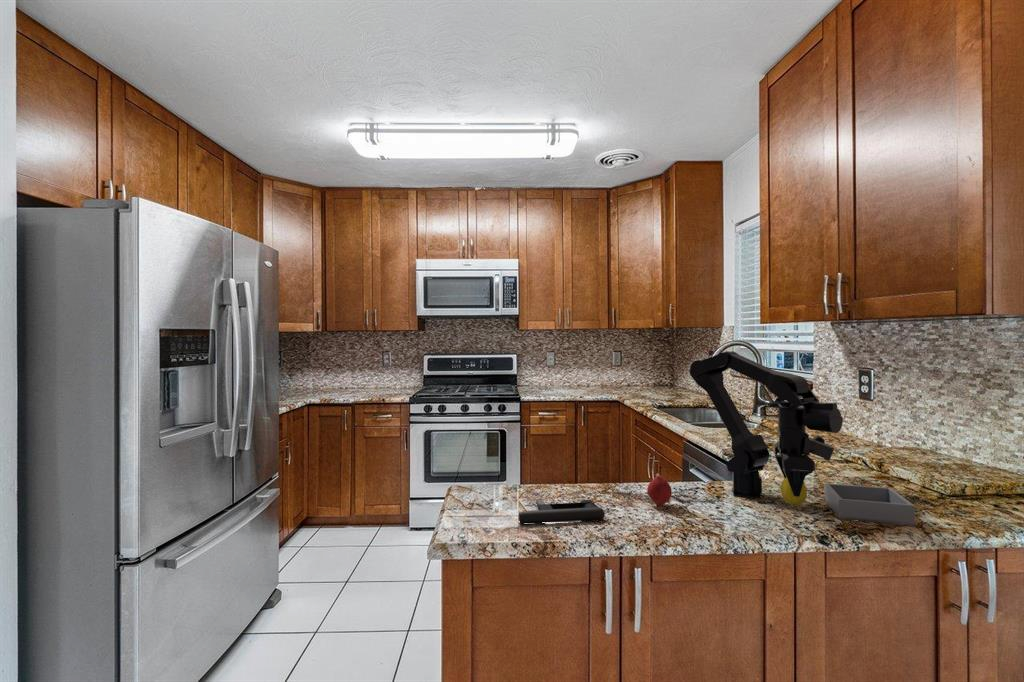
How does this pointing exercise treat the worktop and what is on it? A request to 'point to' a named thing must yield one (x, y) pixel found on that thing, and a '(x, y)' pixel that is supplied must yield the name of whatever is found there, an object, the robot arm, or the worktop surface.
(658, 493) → the onion
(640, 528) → the worktop surface
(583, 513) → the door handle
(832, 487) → the box
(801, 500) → the lemon
